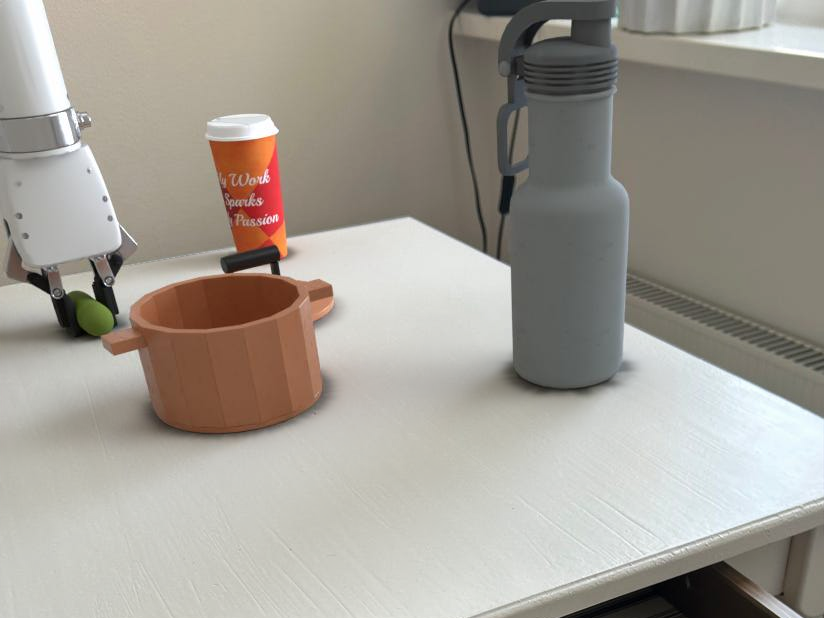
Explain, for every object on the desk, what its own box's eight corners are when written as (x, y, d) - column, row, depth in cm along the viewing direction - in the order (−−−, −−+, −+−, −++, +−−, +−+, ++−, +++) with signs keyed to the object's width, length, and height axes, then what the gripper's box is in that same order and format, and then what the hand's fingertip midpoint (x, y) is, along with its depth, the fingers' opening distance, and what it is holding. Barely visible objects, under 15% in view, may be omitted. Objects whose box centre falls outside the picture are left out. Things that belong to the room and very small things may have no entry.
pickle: (122, 335, 100) (113, 304, 98) (91, 343, 99) (82, 312, 97) (93, 314, 106) (84, 284, 104) (63, 321, 104) (54, 291, 102)
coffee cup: (217, 265, 118) (189, 127, 109) (246, 245, 124) (221, 112, 115) (282, 267, 116) (258, 126, 107) (308, 246, 122) (287, 112, 113)
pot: (379, 389, 86) (367, 293, 81) (165, 460, 77) (137, 357, 72) (300, 344, 96) (285, 255, 91) (101, 403, 87) (72, 307, 82)
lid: (362, 315, 102) (354, 250, 98) (224, 354, 95) (210, 286, 91) (291, 280, 112) (281, 220, 108) (162, 314, 105) (147, 251, 101)
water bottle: (489, 379, 87) (474, 6, 70) (540, 342, 93) (537, -8, 76) (593, 399, 83) (604, 7, 65) (639, 358, 89) (660, -9, 72)
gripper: (106, 115, 97) (153, 300, 108) (-67, 142, 90) (2, 338, 101) (134, 124, 92) (180, 317, 104) (-47, 154, 85) (23, 359, 96)
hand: (91, 326), depth 102 cm, fingers closed on pickle, 3 cm apart
